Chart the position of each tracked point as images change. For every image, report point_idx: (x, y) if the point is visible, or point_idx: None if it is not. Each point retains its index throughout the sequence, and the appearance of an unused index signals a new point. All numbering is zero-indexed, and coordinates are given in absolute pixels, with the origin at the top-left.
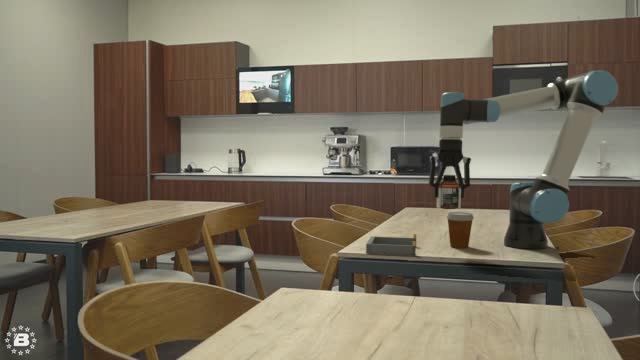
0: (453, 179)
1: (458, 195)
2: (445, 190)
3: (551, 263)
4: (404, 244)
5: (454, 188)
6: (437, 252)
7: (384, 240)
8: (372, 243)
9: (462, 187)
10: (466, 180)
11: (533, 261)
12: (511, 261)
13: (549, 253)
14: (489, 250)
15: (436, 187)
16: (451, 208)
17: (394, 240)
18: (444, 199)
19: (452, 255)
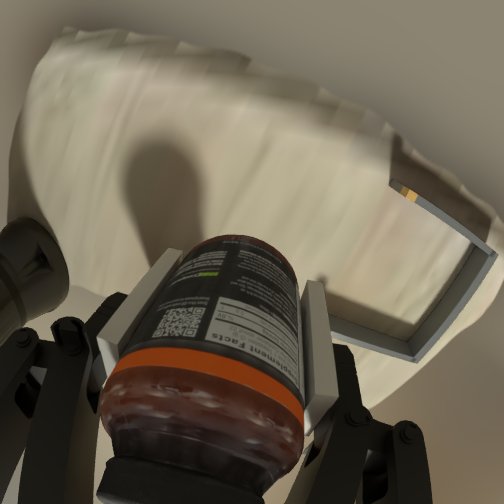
0: (140, 455)
1: (145, 308)
2: (283, 350)
3: (59, 34)
4: (346, 323)
5: (171, 334)
6: (296, 209)
7: (393, 345)
8: (459, 293)
9: (76, 330)
10: (9, 380)
11: (79, 50)
12: (129, 41)
13: (15, 163)
14: (116, 216)
15: (360, 409)
16: (242, 235)
17: (372, 339)
18: (289, 297)
19: (269, 146)
